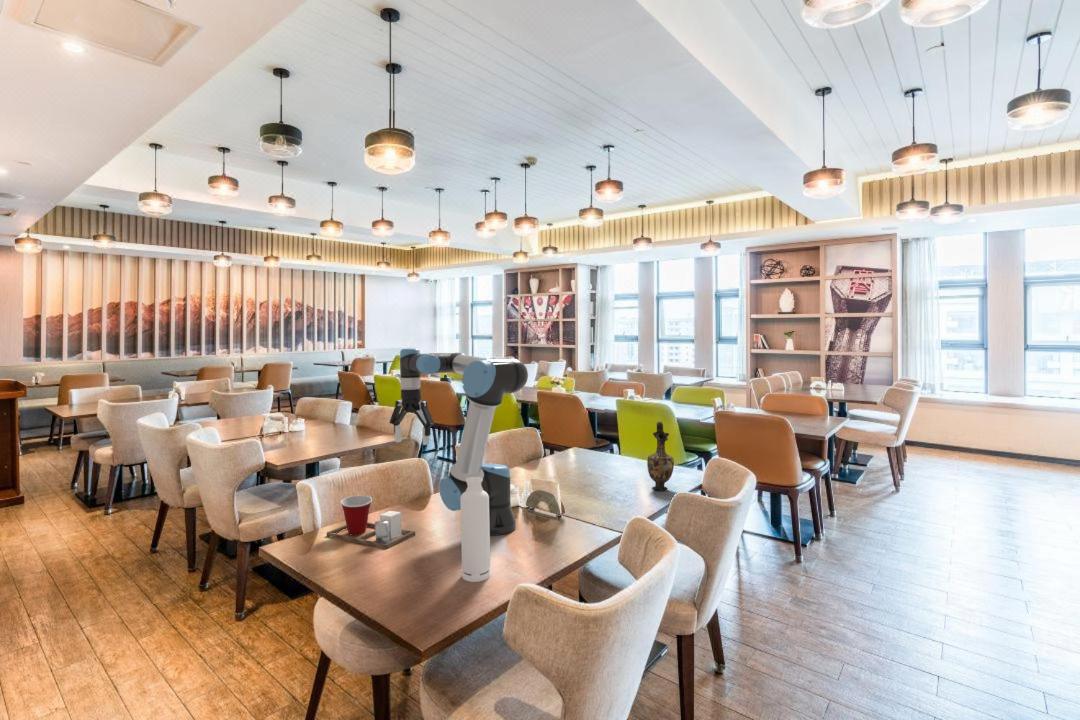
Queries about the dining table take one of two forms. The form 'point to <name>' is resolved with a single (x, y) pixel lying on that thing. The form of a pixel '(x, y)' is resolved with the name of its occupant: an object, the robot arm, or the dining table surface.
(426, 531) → the dining table surface
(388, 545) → the holder frame
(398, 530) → the sugar box
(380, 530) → the silvery rounded piece
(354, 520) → the plastic cup
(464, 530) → the bottle
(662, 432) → the vase
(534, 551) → the dining table surface
